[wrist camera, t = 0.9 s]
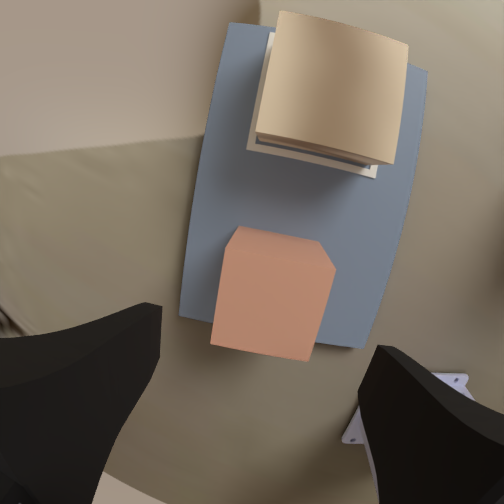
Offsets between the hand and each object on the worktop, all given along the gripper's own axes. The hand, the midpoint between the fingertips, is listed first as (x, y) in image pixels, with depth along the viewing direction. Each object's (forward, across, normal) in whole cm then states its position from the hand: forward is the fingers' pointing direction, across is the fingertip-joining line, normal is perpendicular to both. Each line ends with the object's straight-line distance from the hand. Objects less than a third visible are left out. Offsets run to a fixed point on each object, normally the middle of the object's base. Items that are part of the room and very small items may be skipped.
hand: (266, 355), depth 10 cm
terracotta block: (+8, 0, 0) cm, 8 cm away
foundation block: (+8, -1, -10) cm, 13 cm away
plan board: (+9, -1, -5) cm, 11 cm away
